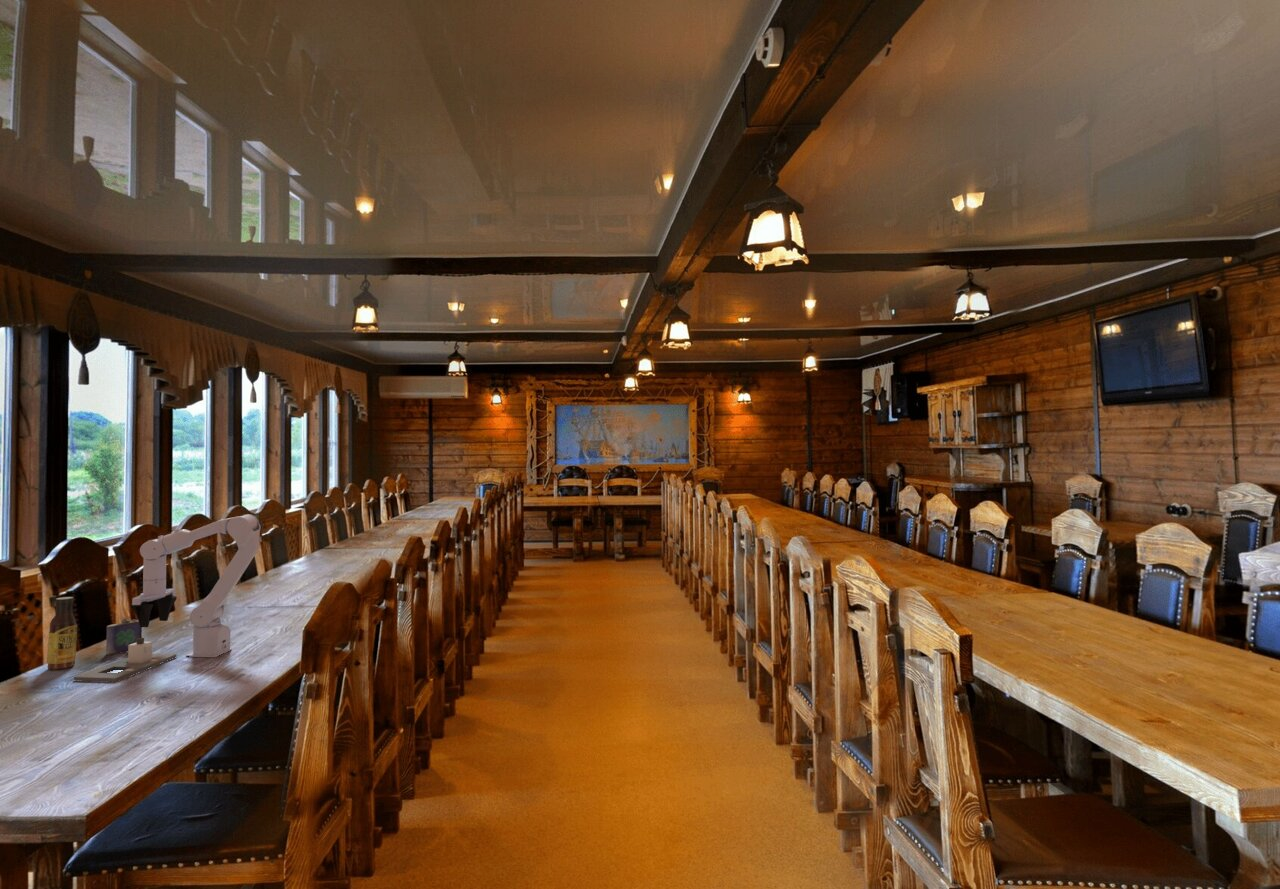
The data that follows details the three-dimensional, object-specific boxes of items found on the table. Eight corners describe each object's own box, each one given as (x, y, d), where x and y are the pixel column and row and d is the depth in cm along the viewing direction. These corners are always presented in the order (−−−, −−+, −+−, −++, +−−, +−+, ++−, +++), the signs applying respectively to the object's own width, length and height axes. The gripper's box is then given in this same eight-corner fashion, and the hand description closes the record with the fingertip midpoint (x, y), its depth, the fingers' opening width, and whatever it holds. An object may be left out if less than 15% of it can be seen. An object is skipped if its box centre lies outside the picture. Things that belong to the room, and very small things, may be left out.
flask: (107, 656, 208) (108, 620, 209) (104, 654, 210) (104, 619, 210) (143, 649, 216) (143, 614, 216) (139, 647, 218) (139, 613, 218)
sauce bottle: (59, 671, 194) (60, 601, 194) (41, 670, 195) (42, 600, 195) (82, 664, 200) (83, 596, 200) (64, 663, 201) (66, 595, 202)
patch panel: (176, 658, 207) (176, 653, 207) (115, 682, 185) (115, 677, 185) (138, 657, 208) (138, 652, 208) (73, 681, 186) (73, 676, 186)
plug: (153, 662, 202) (154, 636, 203) (143, 666, 198) (143, 640, 199) (139, 661, 203) (139, 636, 203) (128, 665, 199) (128, 640, 199)
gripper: (160, 574, 216) (159, 617, 216) (122, 583, 202) (122, 629, 201) (181, 574, 216) (181, 618, 215) (145, 583, 201) (144, 630, 201)
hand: (154, 623), depth 208 cm, fingers open, 7 cm apart
